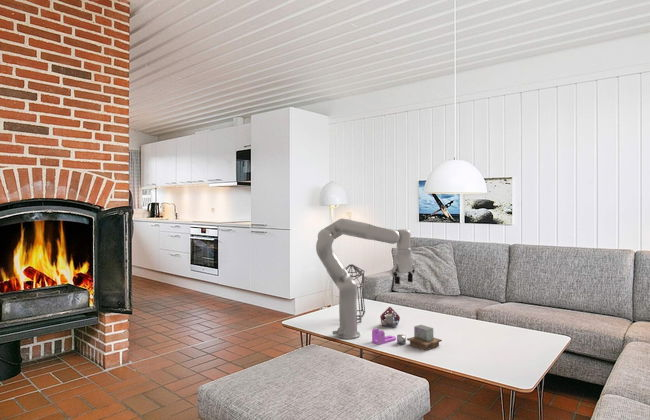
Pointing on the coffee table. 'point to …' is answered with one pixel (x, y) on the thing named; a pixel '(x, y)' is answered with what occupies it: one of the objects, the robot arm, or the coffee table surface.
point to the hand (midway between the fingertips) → (403, 282)
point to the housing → (423, 333)
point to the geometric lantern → (358, 287)
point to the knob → (401, 339)
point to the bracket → (381, 337)
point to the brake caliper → (389, 318)
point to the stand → (424, 343)
